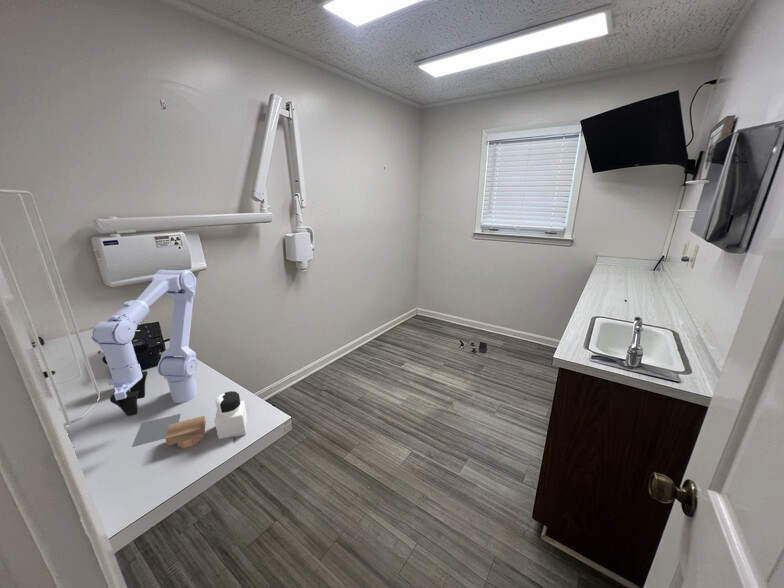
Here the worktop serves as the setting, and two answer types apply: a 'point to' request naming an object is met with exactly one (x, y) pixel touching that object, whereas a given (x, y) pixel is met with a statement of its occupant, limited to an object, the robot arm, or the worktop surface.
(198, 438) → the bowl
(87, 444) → the worktop surface
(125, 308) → the robot arm
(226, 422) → the medicine bottle
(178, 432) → the tan cardboard box
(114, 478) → the worktop surface
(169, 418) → the mat
